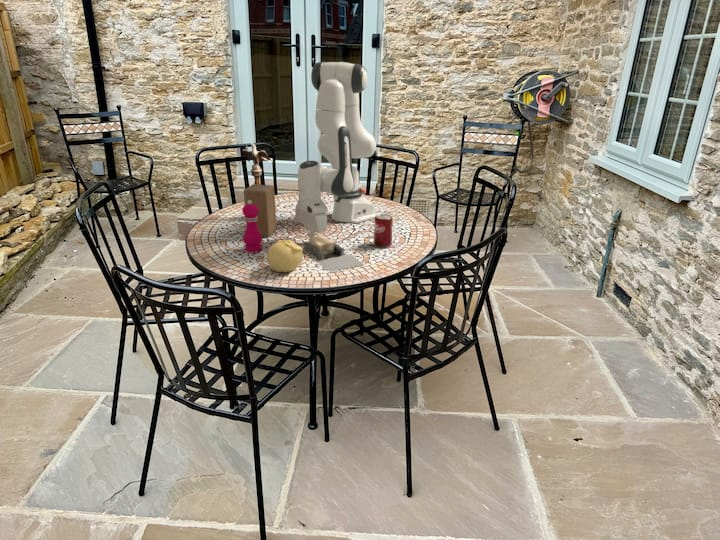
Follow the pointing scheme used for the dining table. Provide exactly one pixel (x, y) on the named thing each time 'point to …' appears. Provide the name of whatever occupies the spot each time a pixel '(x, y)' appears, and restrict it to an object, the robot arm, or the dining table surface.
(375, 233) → the soda can
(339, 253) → the metal chute
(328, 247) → the birch block
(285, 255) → the sculpture
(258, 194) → the wooden block
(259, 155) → the bird statue
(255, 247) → the pepper mill
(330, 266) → the slate mat
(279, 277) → the dining table surface
